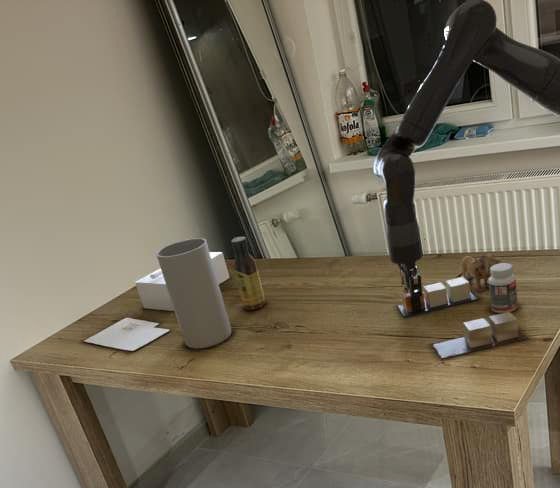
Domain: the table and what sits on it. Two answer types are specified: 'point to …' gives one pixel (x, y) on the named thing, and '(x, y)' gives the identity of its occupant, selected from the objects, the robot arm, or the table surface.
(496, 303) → the pill bottle
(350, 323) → the table surface
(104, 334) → the paper
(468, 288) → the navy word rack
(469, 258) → the lion figurine
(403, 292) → the orange cube
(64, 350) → the table surface
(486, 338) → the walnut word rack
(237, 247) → the sauce bottle
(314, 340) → the table surface
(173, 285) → the cylinder vase
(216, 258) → the tissue box
